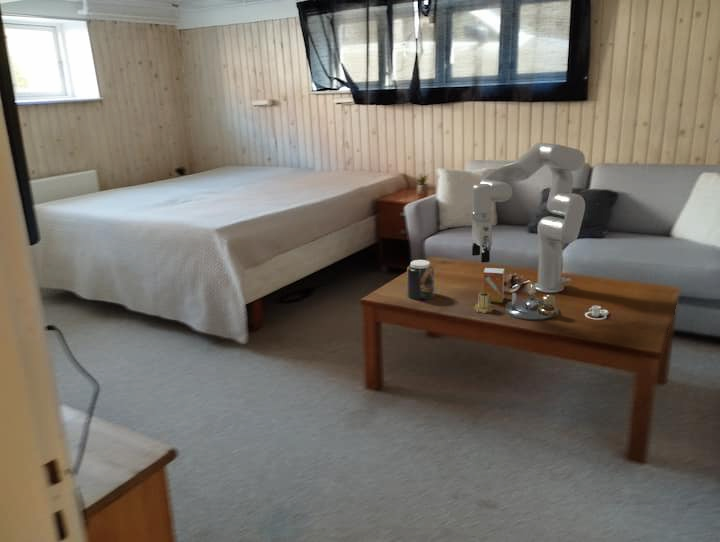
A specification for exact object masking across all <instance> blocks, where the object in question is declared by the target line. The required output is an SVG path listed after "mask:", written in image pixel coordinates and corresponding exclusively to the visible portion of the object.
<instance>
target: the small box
mask: <svg viewBox="0 0 720 542" xmlns="http://www.w3.org/2000/svg"><path fill="white" fill-rule="evenodd" d="M505 270H506V269H505V268H496V267H485V268H484V271H483V276H482V278H483V279H482V281H483V283H482V292H485V293H489V294H490V303H500V304H501V303H503V301H504V295H505V294H504V293H505V290H504V289H505Z"/></svg>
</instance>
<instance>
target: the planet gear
mask: <svg viewBox="0 0 720 542" xmlns="http://www.w3.org/2000/svg"><path fill="white" fill-rule="evenodd" d="M473 309H474V310H475V311H476V313H482V314H486V313H492V312H493V311H494V310H495V306H494V305H492V303H491V302H490V294H489V293H485V292H483V291H482V292H479V293H478V294H477V303H476V304H475V305H474V307H473Z"/></svg>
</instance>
